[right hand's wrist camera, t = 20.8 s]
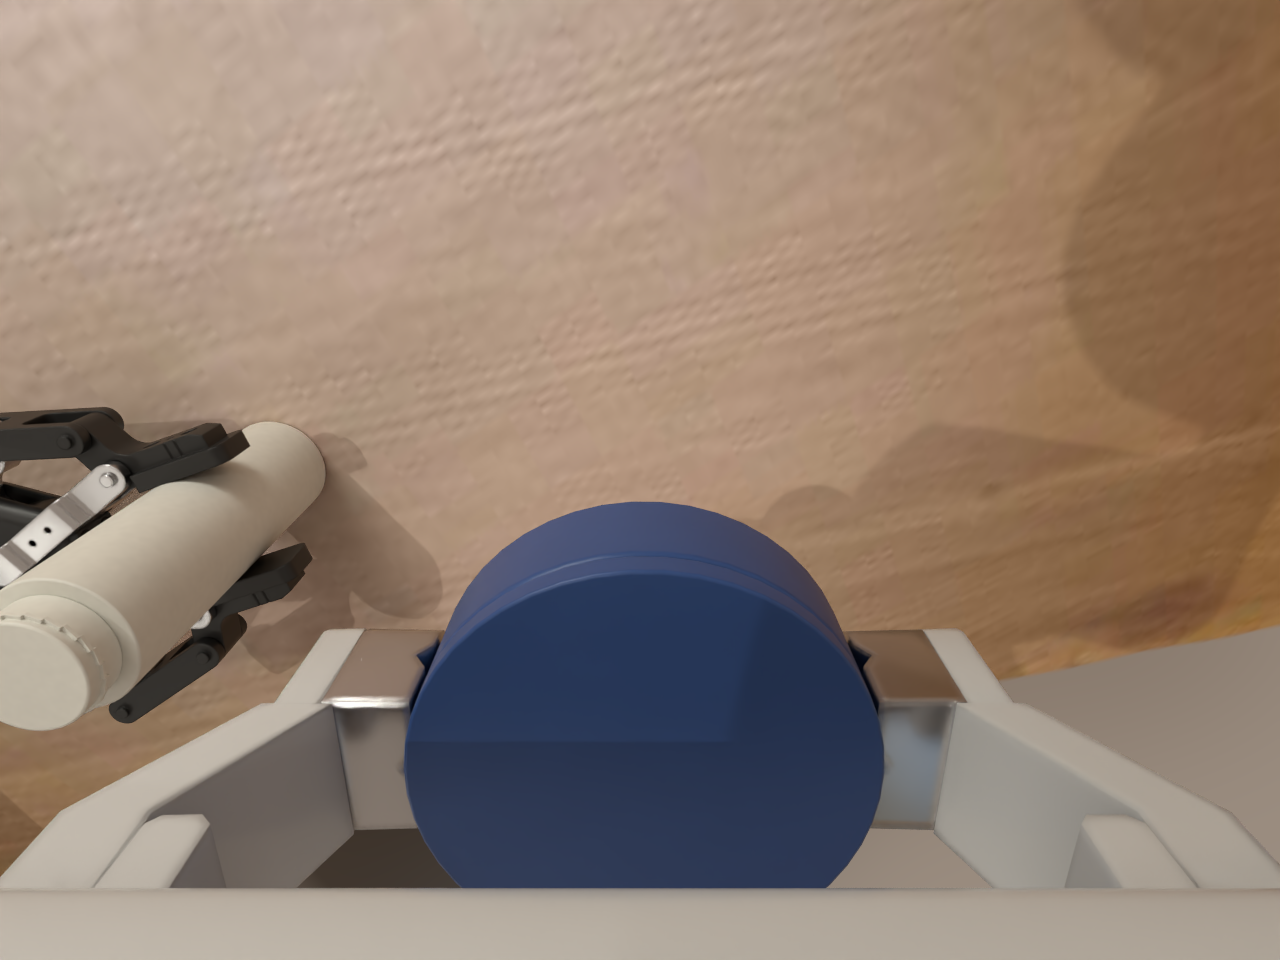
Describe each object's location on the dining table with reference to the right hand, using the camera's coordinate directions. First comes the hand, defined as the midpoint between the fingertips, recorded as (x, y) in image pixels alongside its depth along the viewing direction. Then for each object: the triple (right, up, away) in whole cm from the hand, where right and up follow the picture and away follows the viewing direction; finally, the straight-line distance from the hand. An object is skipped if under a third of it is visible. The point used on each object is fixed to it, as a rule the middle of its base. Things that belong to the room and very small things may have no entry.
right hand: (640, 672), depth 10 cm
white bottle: (-17, +3, +27) cm, 32 cm away
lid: (0, -1, -2) cm, 2 cm away
